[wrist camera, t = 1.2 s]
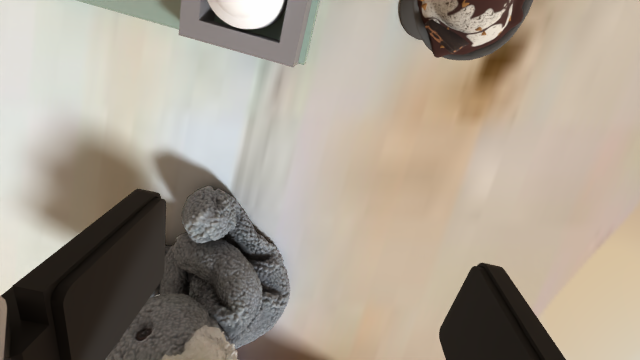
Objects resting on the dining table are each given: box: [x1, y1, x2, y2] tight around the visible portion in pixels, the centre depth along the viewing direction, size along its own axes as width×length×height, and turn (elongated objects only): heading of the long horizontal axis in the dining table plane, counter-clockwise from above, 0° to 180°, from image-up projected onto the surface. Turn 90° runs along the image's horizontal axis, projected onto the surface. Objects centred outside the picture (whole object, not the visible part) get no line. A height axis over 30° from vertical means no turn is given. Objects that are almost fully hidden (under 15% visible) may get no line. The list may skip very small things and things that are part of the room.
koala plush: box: [105, 186, 290, 360], centre depth 31 cm, size 17×18×20 cm
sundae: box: [399, 0, 533, 60], centre depth 21 cm, size 7×7×15 cm
